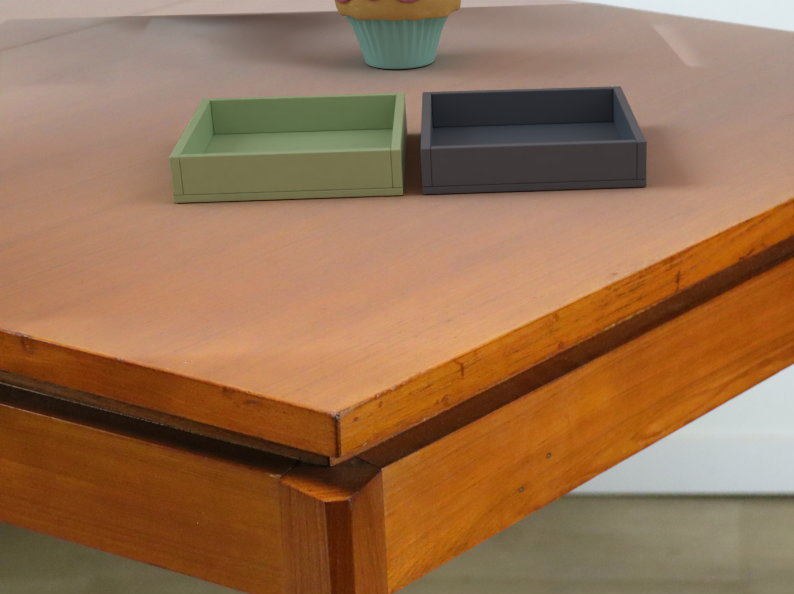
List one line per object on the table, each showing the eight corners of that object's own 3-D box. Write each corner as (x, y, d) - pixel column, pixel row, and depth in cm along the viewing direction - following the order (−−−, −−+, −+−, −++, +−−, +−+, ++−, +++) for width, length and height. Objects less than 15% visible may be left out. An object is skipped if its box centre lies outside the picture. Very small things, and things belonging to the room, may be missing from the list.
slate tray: (422, 194, 77) (420, 148, 76) (424, 132, 88) (422, 91, 87) (646, 187, 78) (646, 141, 77) (620, 126, 89) (620, 85, 88)
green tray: (174, 203, 76) (168, 157, 75) (207, 139, 87) (202, 98, 86) (403, 195, 77) (400, 149, 76) (407, 133, 88) (405, 92, 87)
